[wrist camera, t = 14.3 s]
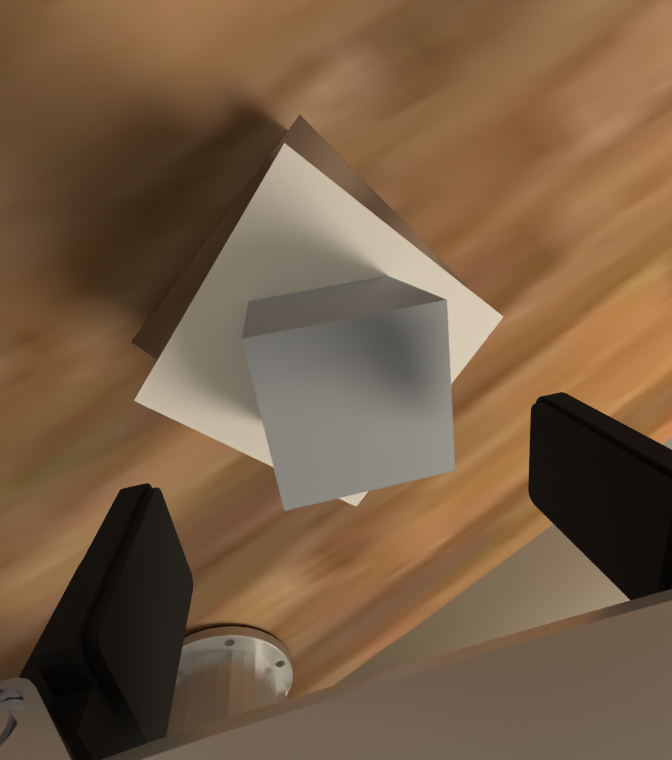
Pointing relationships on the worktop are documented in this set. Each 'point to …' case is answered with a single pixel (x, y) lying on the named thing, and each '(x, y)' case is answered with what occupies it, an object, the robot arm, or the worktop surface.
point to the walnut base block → (190, 281)
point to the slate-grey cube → (352, 387)
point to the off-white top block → (285, 276)
